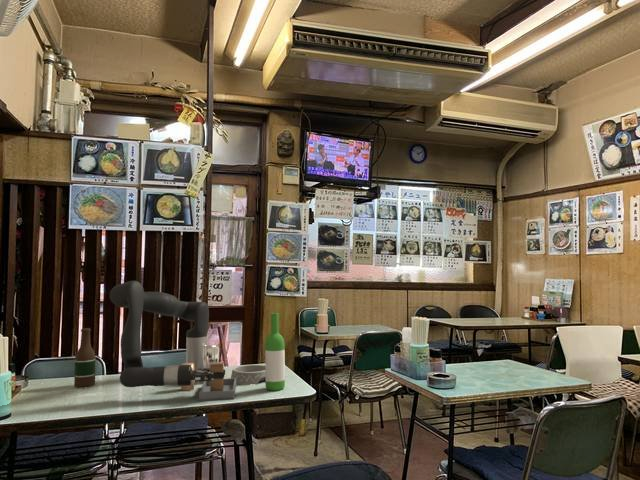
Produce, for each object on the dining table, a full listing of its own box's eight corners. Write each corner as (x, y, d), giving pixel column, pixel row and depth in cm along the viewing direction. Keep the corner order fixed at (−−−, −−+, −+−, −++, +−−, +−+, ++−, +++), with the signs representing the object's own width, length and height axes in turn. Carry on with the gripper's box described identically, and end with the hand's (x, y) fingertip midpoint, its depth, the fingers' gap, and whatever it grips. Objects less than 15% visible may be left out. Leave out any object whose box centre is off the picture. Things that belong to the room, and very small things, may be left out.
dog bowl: (280, 379, 203) (279, 367, 203) (247, 387, 189) (247, 374, 189) (254, 374, 214) (254, 362, 214) (221, 381, 200) (221, 369, 201)
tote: (205, 387, 190) (205, 379, 190) (236, 385, 191) (236, 378, 192) (198, 400, 169) (198, 392, 169) (233, 398, 171) (233, 390, 171)
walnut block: (211, 389, 176) (211, 362, 177) (223, 388, 177) (223, 362, 178) (210, 392, 172) (210, 364, 173) (222, 391, 173) (222, 364, 173)
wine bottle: (277, 392, 180) (277, 314, 182) (261, 389, 184) (261, 313, 186) (288, 387, 187) (287, 312, 189) (272, 385, 191) (272, 312, 193)
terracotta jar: (182, 388, 189) (182, 363, 189) (194, 387, 189) (195, 362, 190) (180, 390, 184) (180, 365, 185) (192, 390, 184) (193, 364, 185)
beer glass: (214, 383, 195) (214, 347, 196) (199, 383, 197) (199, 347, 198) (221, 379, 202) (221, 345, 203) (206, 379, 203) (206, 344, 204)
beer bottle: (69, 387, 192) (71, 329, 194) (85, 383, 199) (86, 327, 201) (84, 389, 189) (85, 329, 191) (99, 384, 197) (100, 327, 198)
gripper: (174, 369, 166) (223, 367, 168) (181, 361, 180) (225, 360, 183) (174, 390, 166) (223, 388, 168) (181, 381, 180) (225, 379, 182)
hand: (224, 373), depth 175 cm, fingers closed on walnut block, 4 cm apart
